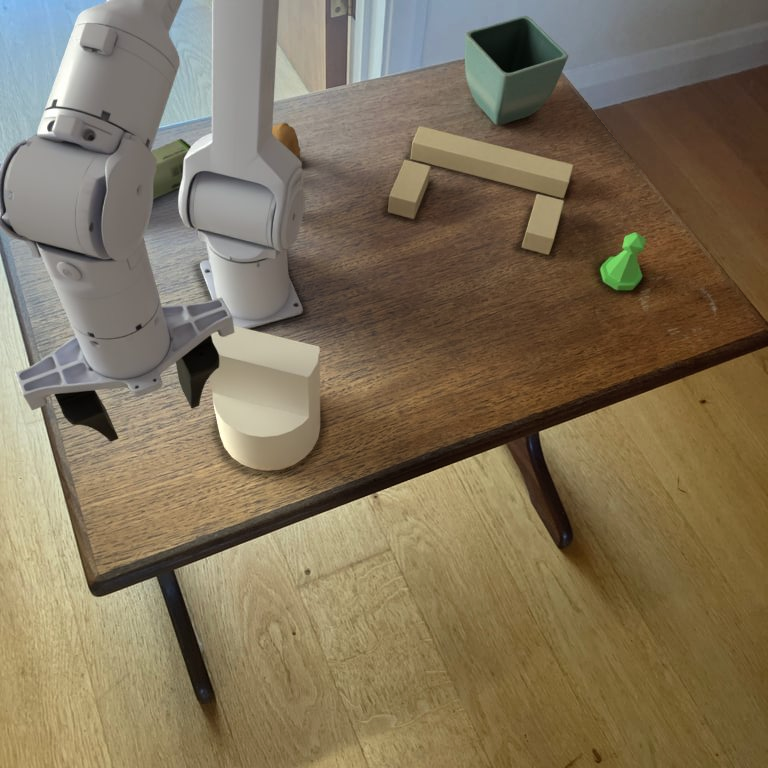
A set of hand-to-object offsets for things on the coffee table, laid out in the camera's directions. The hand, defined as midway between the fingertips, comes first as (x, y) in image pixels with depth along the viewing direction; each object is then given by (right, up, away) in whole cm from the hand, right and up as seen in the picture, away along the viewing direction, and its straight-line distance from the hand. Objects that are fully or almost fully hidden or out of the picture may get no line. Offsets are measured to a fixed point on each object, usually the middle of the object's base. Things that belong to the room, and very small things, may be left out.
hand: (151, 413), depth 63 cm
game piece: (+43, +14, +23) cm, 51 cm away
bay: (+29, +23, +28) cm, 47 cm away
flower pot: (+32, +36, +37) cm, 61 cm away
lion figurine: (+7, +22, +27) cm, 36 cm away
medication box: (-8, +23, +26) cm, 35 cm away
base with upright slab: (+8, -2, +11) cm, 14 cm away
